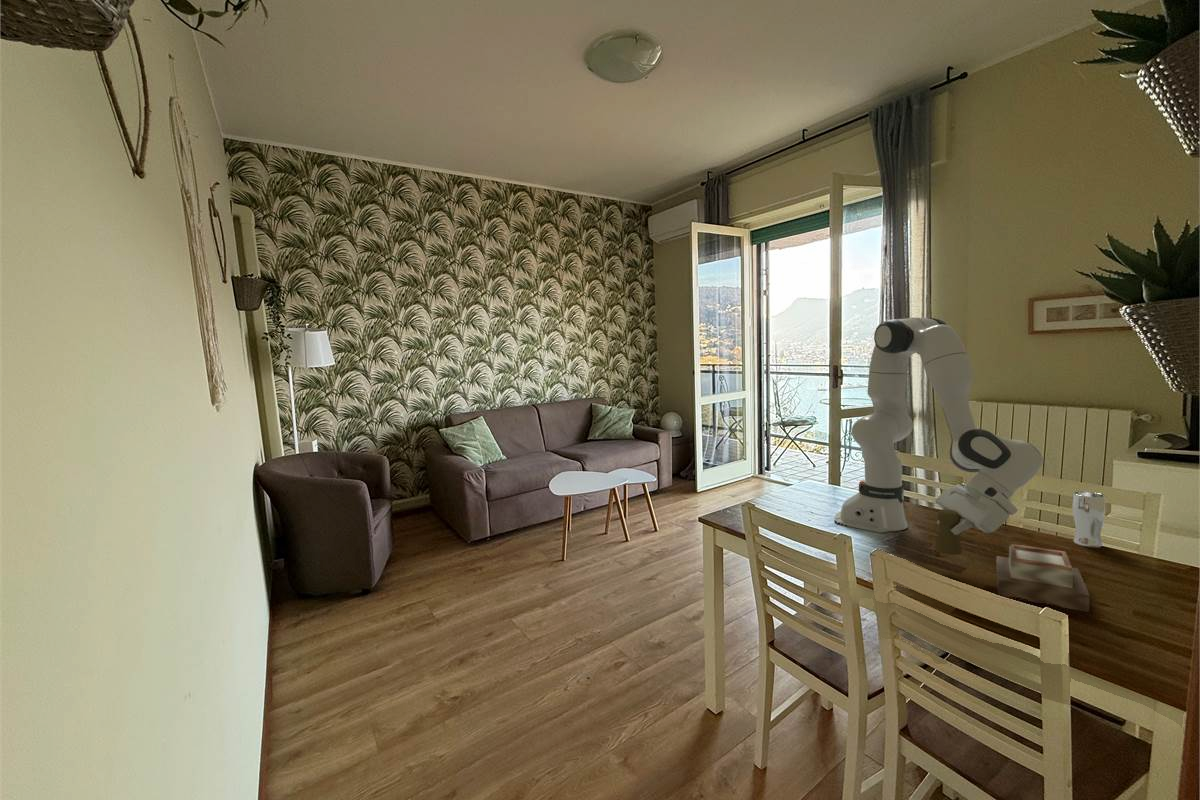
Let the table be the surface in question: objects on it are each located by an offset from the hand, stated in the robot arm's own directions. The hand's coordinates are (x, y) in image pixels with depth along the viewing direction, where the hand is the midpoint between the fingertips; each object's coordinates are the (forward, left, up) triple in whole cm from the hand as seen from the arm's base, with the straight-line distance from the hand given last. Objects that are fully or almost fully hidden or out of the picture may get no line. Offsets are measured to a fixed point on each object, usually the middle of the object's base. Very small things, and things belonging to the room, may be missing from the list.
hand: (946, 528), depth 135 cm
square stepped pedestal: (+19, -1, -12) cm, 22 cm away
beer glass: (+33, +40, -12) cm, 53 cm away
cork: (0, 0, -6) cm, 6 cm away
